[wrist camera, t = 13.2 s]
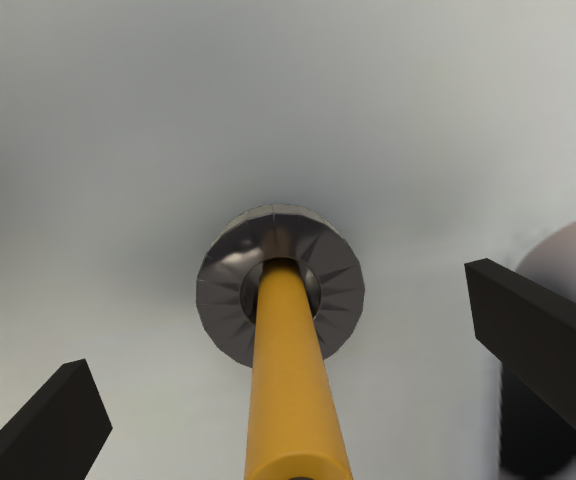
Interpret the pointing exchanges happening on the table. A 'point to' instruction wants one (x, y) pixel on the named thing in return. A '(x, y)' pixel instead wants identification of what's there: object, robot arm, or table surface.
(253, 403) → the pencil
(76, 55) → the table surface
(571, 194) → the table surface
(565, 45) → the table surface
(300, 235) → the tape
